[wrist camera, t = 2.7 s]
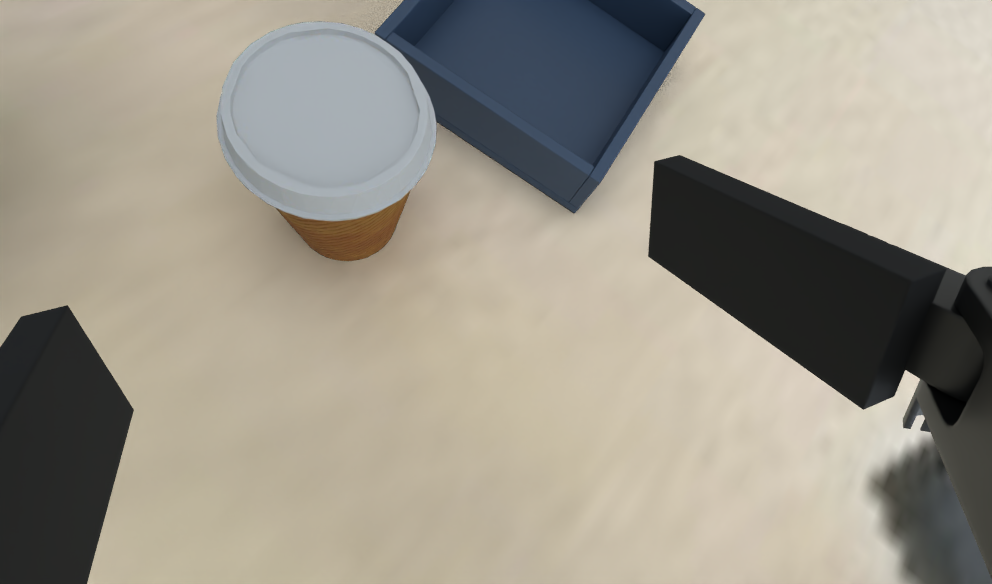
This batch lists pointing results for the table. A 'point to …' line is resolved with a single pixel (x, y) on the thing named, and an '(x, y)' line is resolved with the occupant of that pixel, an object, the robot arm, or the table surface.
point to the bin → (543, 77)
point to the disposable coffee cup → (328, 133)
